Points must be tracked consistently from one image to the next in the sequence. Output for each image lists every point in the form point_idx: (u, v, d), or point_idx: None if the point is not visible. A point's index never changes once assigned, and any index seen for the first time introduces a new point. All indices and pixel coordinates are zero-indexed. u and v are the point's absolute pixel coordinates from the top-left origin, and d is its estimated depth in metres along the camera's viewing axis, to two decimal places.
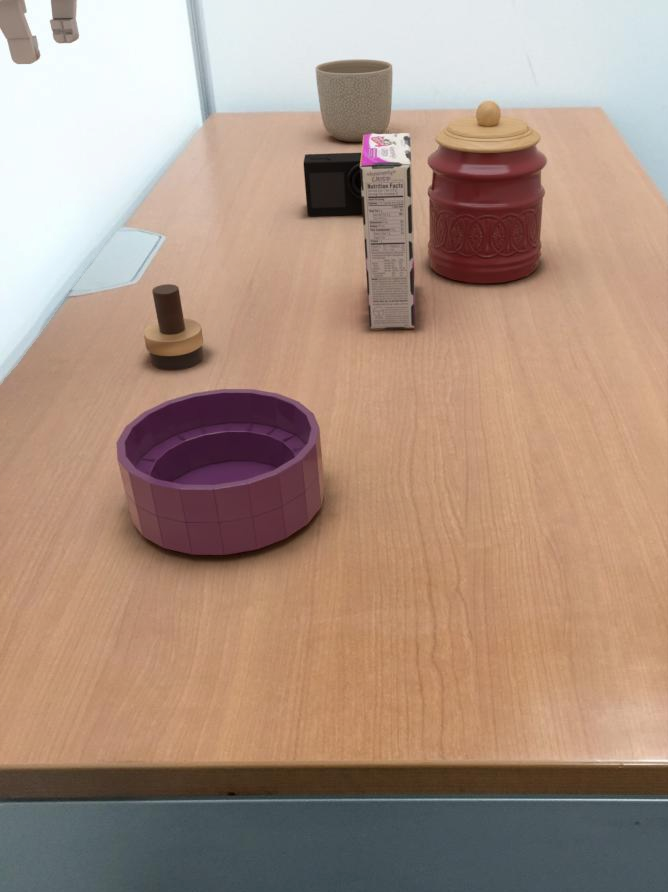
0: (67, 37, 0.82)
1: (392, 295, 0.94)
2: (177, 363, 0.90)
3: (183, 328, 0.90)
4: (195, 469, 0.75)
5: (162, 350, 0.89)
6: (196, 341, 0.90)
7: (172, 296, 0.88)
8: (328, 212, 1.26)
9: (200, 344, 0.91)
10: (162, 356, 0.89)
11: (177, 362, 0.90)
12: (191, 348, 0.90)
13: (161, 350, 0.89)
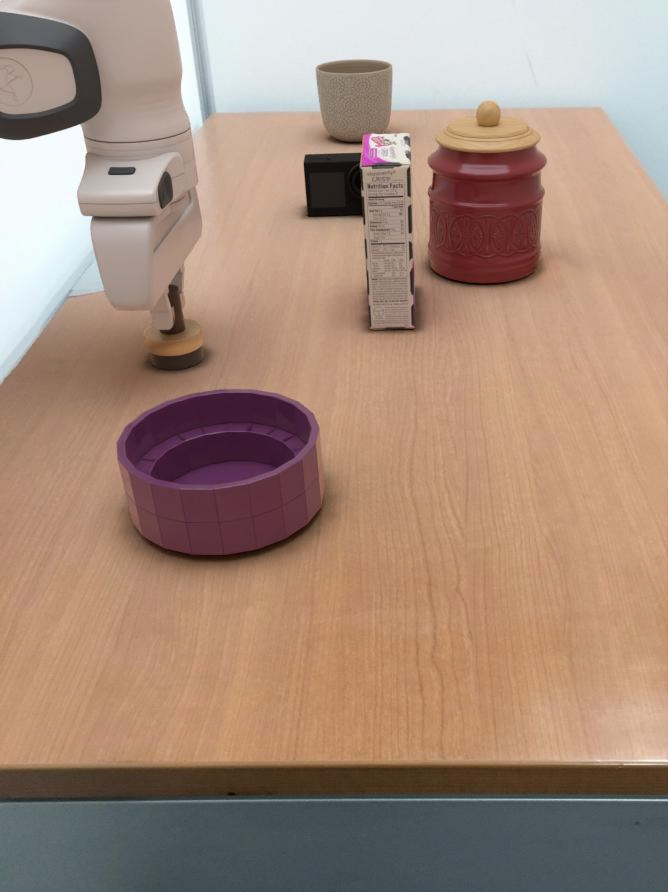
0: None
1: (392, 295, 0.94)
2: (177, 363, 0.90)
3: (183, 328, 0.90)
4: (195, 469, 0.75)
5: (162, 350, 0.89)
6: (196, 341, 0.90)
7: (172, 296, 0.88)
8: (328, 212, 1.26)
9: (200, 344, 0.91)
10: (162, 356, 0.89)
11: (177, 362, 0.90)
12: (191, 348, 0.90)
13: (161, 350, 0.89)
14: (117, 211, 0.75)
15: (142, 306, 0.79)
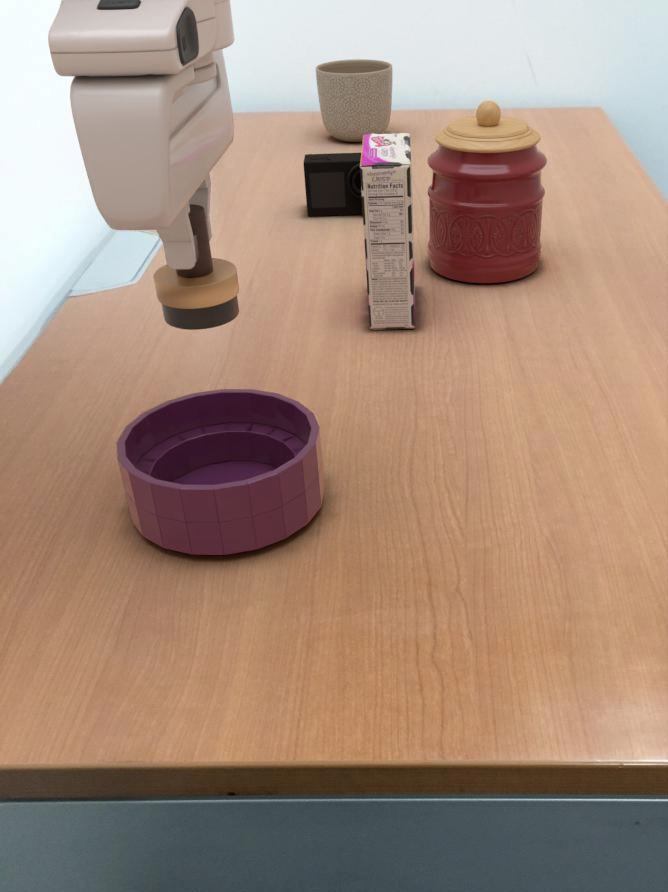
0: None
1: (392, 295, 0.94)
2: (202, 320, 0.62)
3: (211, 269, 0.62)
4: (195, 469, 0.75)
5: (181, 300, 0.61)
6: (230, 288, 0.62)
7: (195, 220, 0.60)
8: (328, 212, 1.26)
9: (235, 292, 0.63)
10: (181, 309, 0.62)
11: (202, 318, 0.62)
12: (223, 297, 0.62)
13: (179, 300, 0.61)
14: (112, 65, 0.47)
15: (152, 222, 0.51)
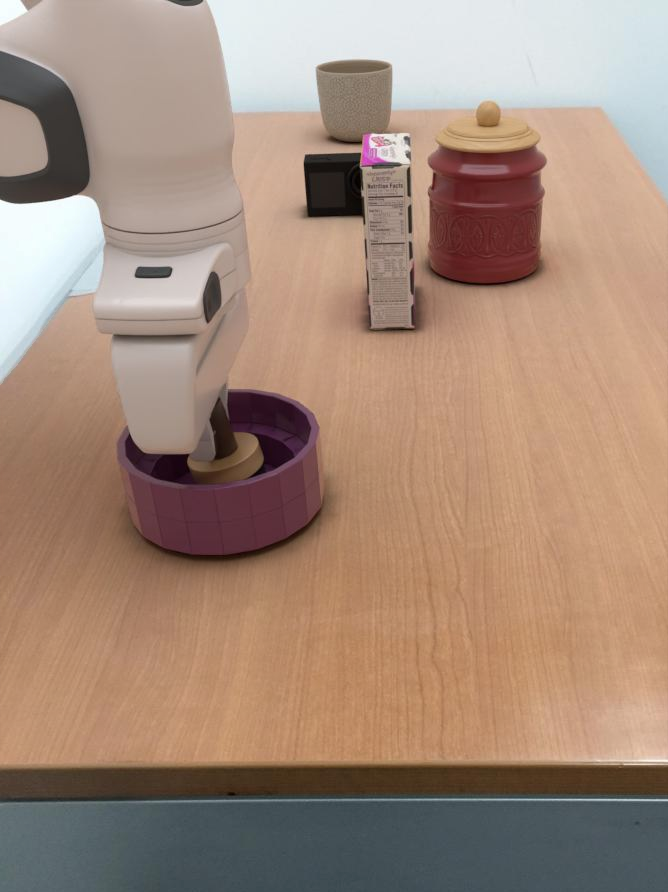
0: None
1: (392, 295, 0.94)
2: None
3: (235, 447, 0.69)
4: None
5: (213, 481, 0.68)
6: (254, 462, 0.69)
7: (214, 412, 0.67)
8: (328, 212, 1.26)
9: (260, 463, 0.70)
10: None
11: None
12: (249, 472, 0.69)
13: (211, 482, 0.68)
14: (148, 329, 0.55)
15: (179, 451, 0.58)
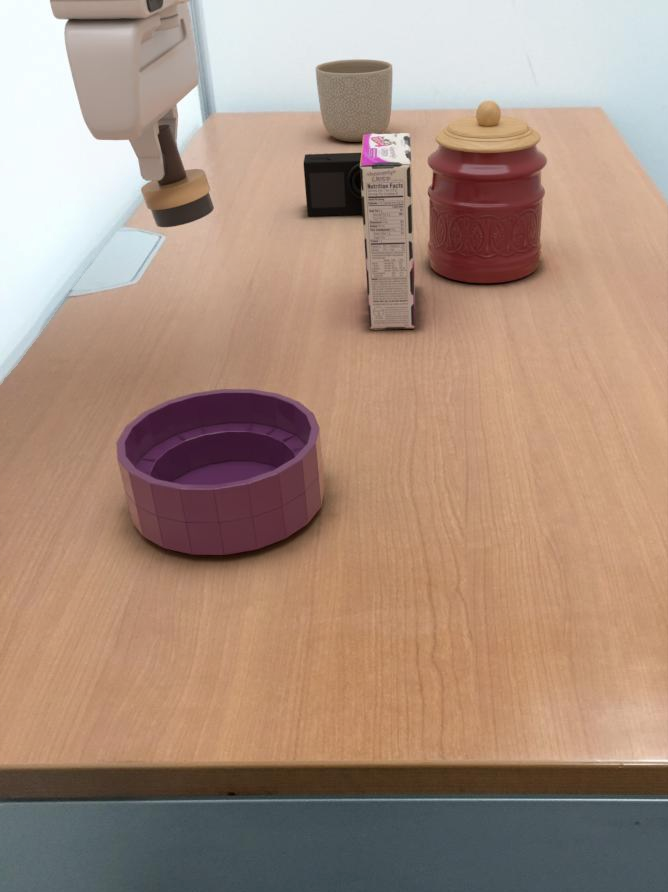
0: None
1: (392, 295, 0.94)
2: (183, 216, 0.77)
3: (184, 175, 0.78)
4: (195, 469, 0.75)
5: (163, 202, 0.77)
6: (200, 186, 0.77)
7: (163, 134, 0.75)
8: (328, 212, 1.26)
9: (206, 191, 0.78)
10: (164, 210, 0.77)
11: (183, 214, 0.77)
12: (195, 195, 0.77)
13: (162, 202, 0.77)
14: (96, 10, 0.63)
15: (126, 133, 0.67)
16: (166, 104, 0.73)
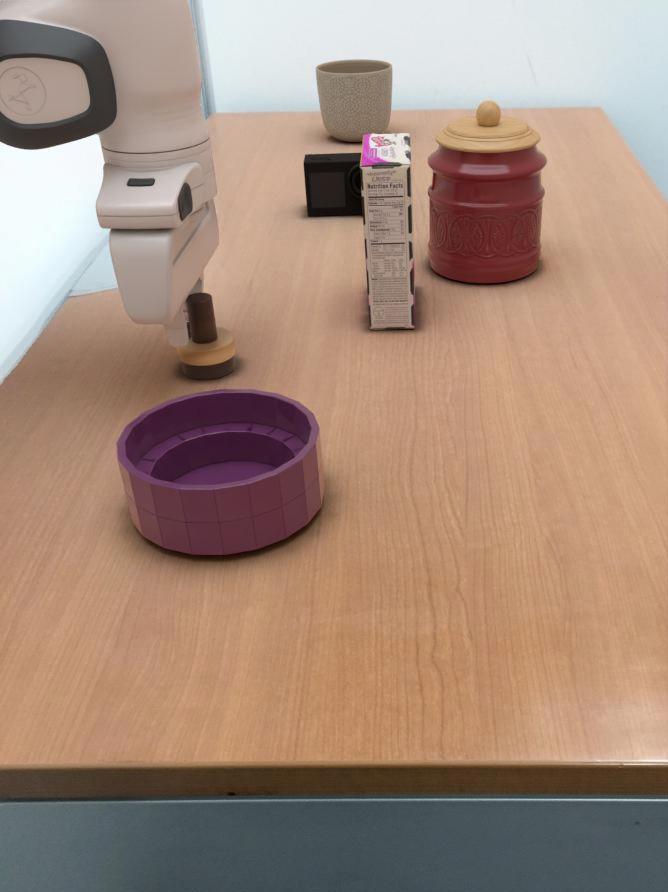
0: None
1: (392, 295, 0.94)
2: (210, 373, 0.88)
3: (216, 337, 0.88)
4: (195, 469, 0.75)
5: (195, 360, 0.87)
6: (229, 351, 0.88)
7: (205, 305, 0.86)
8: (328, 212, 1.26)
9: (233, 353, 0.89)
10: (194, 366, 0.88)
11: (210, 372, 0.88)
12: (224, 357, 0.88)
13: (194, 360, 0.87)
14: (136, 223, 0.74)
15: (161, 320, 0.77)
16: (193, 280, 0.83)
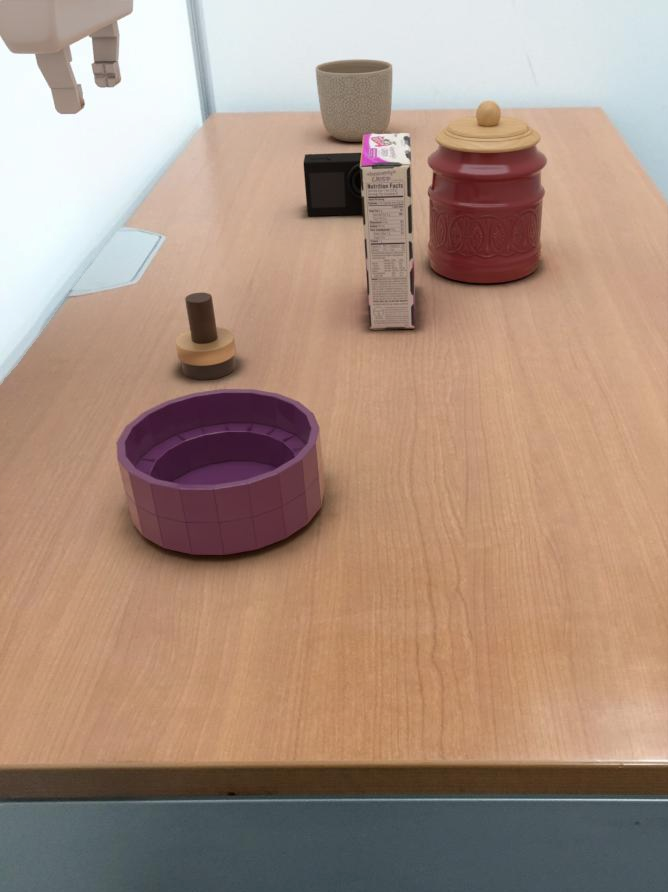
0: (109, 81, 0.78)
1: (392, 295, 0.94)
2: (210, 373, 0.88)
3: (216, 337, 0.88)
4: (195, 469, 0.75)
5: (195, 360, 0.87)
6: (229, 350, 0.88)
7: (205, 305, 0.86)
8: (328, 212, 1.26)
9: (233, 353, 0.89)
10: (194, 366, 0.88)
11: (210, 372, 0.88)
12: (224, 357, 0.88)
13: (194, 360, 0.87)
14: None
15: (43, 45, 0.64)
16: (91, 23, 0.70)
